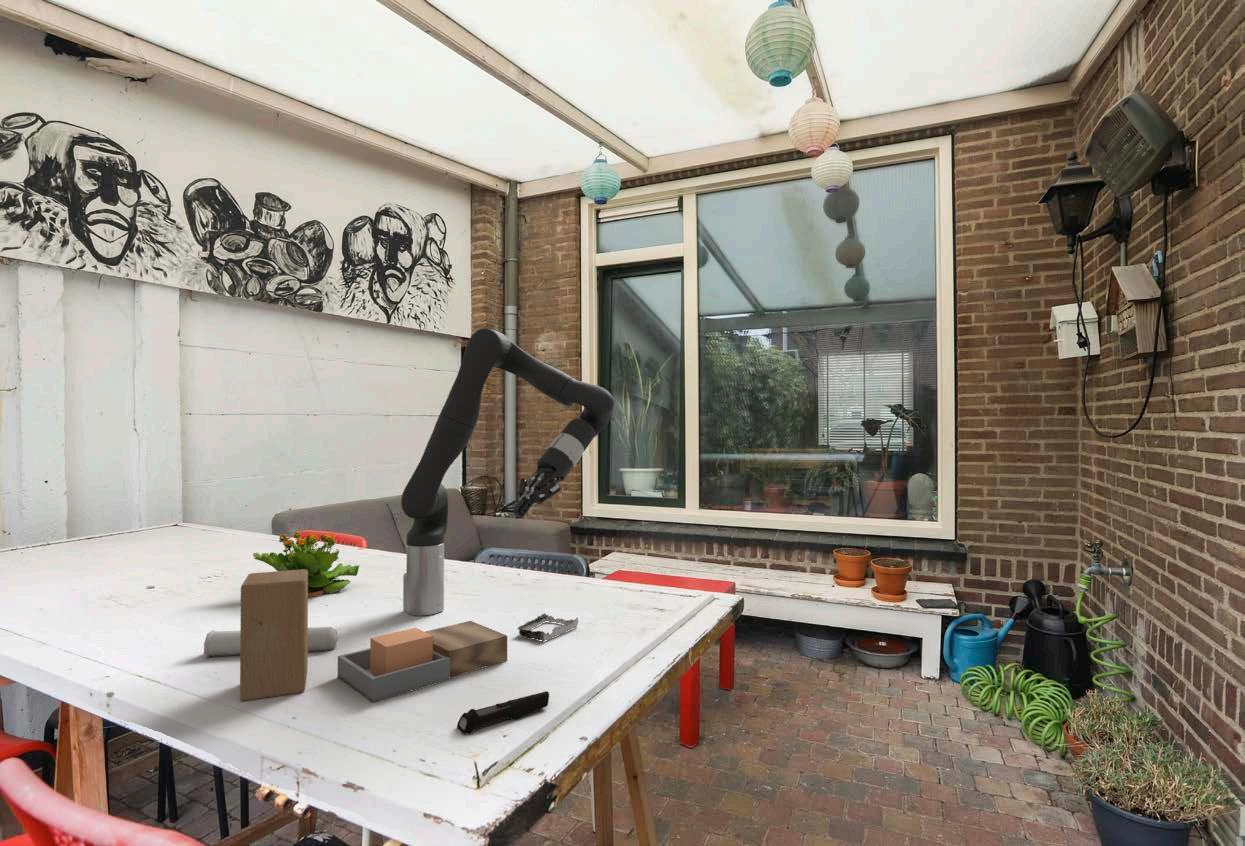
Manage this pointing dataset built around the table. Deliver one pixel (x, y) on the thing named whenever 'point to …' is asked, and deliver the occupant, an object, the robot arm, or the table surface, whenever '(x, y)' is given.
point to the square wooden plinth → (469, 646)
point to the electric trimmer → (502, 712)
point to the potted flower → (311, 562)
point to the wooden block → (274, 634)
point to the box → (390, 675)
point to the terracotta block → (400, 651)
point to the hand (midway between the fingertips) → (517, 514)
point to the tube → (230, 641)
